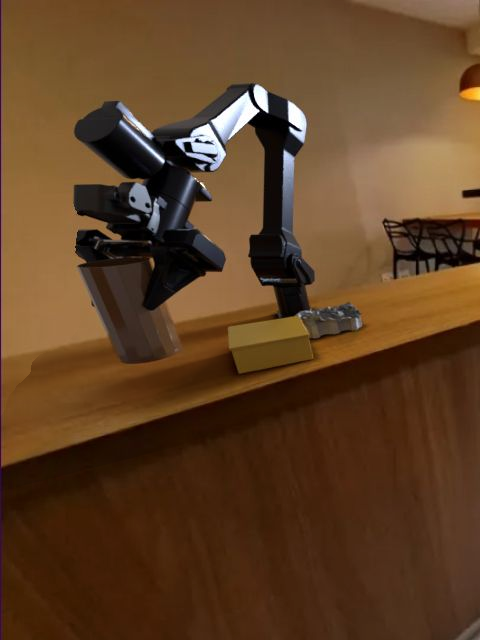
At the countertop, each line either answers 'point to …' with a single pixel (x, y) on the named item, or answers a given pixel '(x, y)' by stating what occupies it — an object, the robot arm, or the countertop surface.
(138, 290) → the brown faceted cup
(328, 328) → the grey knobbed block
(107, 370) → the countertop surface
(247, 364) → the yellow block
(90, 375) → the countertop surface
